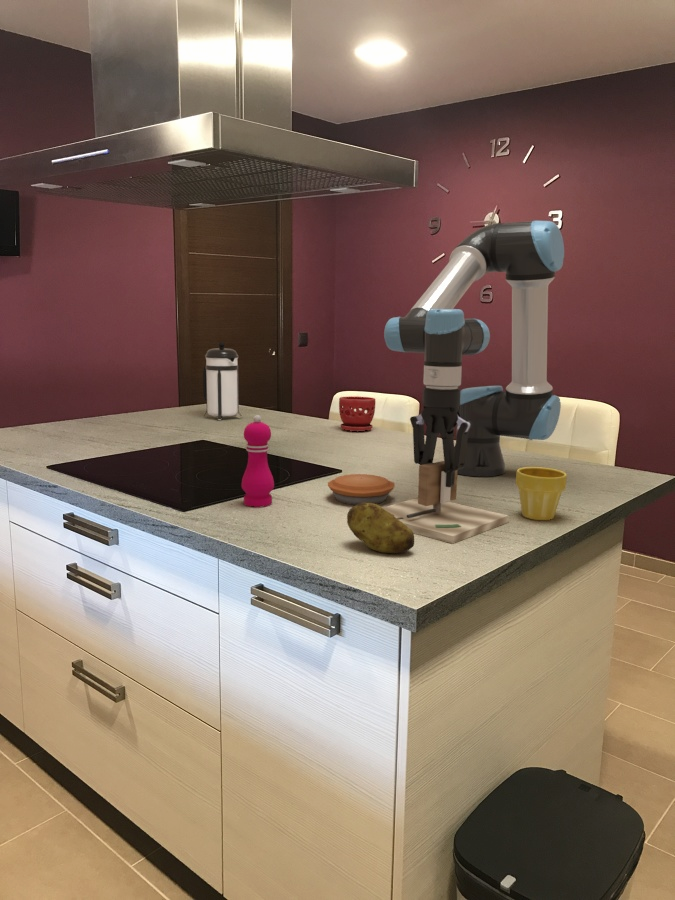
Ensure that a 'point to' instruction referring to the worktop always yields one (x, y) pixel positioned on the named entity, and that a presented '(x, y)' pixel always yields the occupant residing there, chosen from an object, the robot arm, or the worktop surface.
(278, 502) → the worktop surface
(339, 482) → the pie
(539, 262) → the robot arm
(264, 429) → the pepper mill
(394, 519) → the potato
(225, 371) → the coffee press
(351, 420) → the plant pot
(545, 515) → the plant pot
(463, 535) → the plate
